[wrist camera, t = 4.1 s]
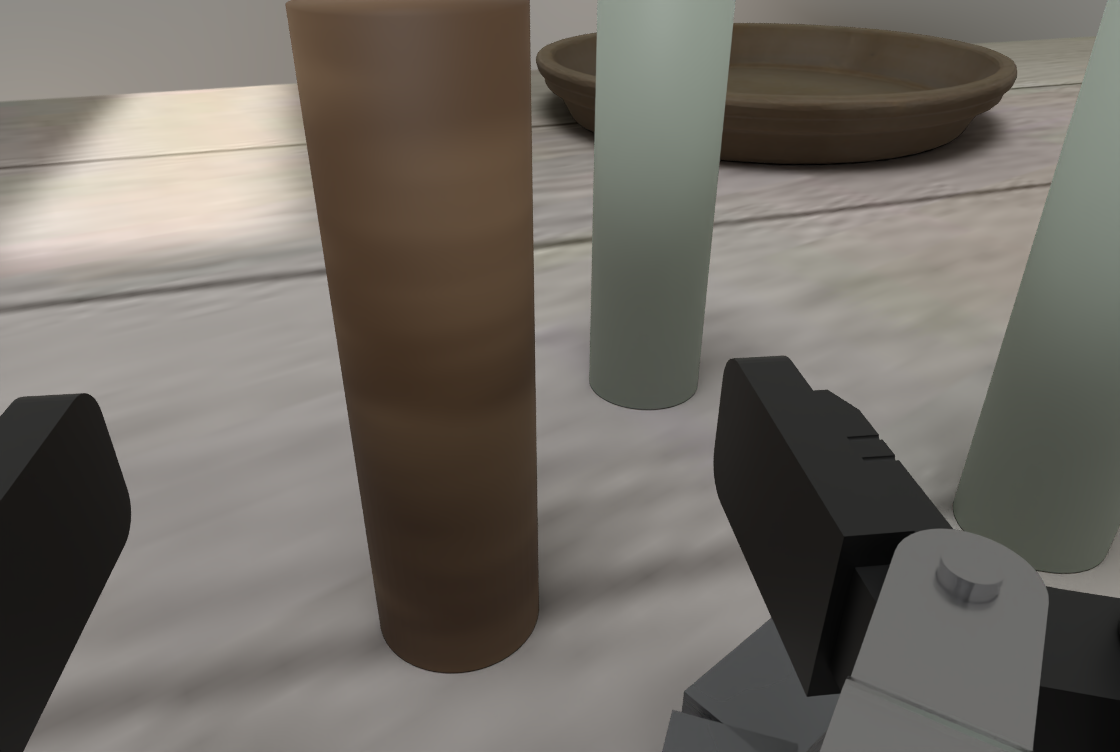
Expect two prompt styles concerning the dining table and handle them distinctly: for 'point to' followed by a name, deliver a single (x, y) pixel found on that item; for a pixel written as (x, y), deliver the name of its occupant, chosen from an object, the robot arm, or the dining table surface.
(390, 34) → the walnut dowel
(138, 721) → the dining table surface
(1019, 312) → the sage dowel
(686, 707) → the ring
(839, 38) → the plant saucer
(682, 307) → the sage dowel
